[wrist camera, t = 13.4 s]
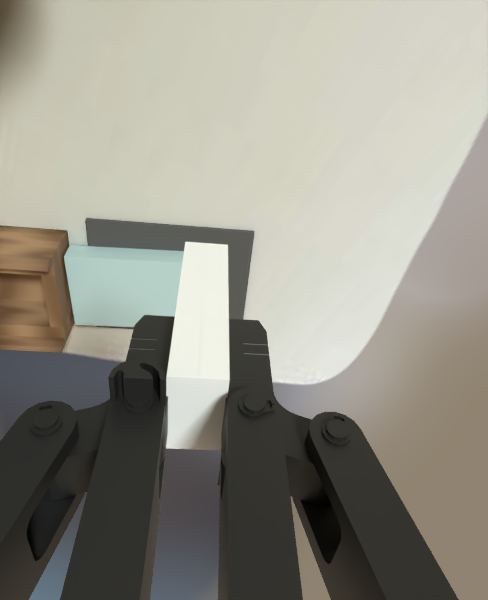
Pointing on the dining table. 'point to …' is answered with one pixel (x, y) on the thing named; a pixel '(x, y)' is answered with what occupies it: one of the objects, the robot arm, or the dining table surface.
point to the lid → (121, 284)
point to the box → (34, 289)
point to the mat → (180, 248)
